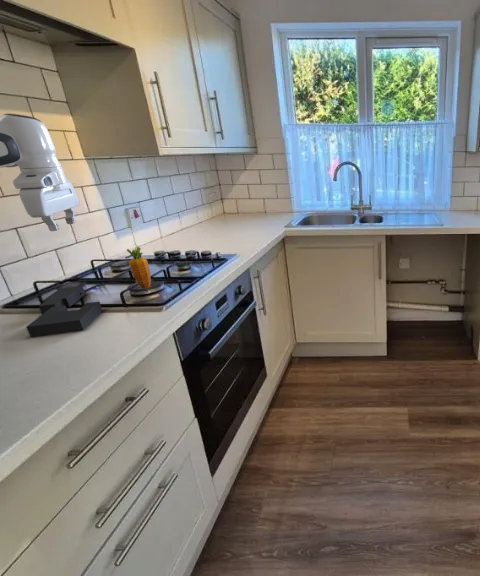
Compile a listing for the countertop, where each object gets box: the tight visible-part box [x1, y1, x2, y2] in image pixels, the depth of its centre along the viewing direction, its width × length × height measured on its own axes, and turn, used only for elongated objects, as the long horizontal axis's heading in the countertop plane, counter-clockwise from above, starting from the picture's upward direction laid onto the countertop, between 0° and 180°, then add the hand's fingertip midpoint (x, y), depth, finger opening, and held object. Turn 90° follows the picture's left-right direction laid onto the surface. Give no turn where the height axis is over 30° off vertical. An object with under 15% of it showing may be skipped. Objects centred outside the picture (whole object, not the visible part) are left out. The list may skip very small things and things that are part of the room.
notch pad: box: [25, 301, 104, 338], centre depth 98 cm, size 12×12×3 cm
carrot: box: [126, 246, 152, 292], centre depth 115 cm, size 5×5×15 cm
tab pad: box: [38, 285, 86, 315], centre depth 109 cm, size 6×14×3 cm, turn 16°
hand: (63, 226), depth 106 cm, fingers open, 8 cm apart
